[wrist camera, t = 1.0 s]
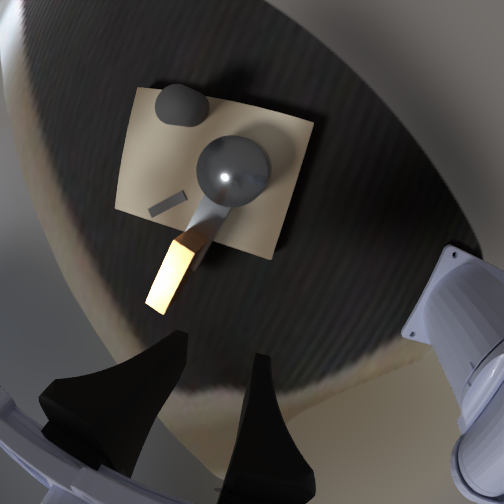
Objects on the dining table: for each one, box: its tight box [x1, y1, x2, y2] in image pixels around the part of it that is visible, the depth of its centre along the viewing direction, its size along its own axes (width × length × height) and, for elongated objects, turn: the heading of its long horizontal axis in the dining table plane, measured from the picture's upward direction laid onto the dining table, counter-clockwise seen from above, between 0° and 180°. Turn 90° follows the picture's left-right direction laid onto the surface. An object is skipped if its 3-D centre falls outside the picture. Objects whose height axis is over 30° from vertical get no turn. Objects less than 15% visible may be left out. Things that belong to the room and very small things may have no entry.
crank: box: [146, 135, 272, 315], centre depth 17 cm, size 12×4×3 cm, turn 150°
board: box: [115, 87, 314, 260], centre depth 18 cm, size 12×9×1 cm
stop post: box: [155, 84, 210, 127], centre depth 15 cm, size 2×2×3 cm
